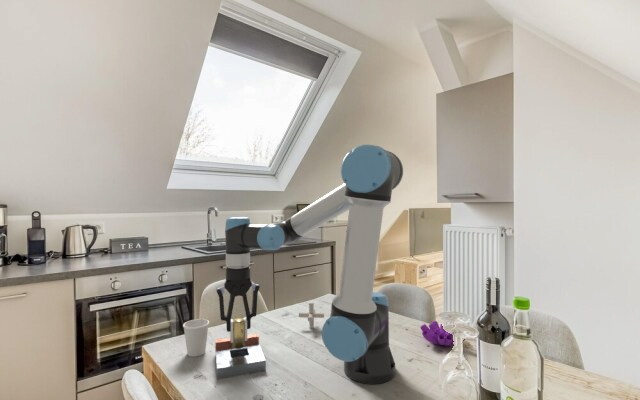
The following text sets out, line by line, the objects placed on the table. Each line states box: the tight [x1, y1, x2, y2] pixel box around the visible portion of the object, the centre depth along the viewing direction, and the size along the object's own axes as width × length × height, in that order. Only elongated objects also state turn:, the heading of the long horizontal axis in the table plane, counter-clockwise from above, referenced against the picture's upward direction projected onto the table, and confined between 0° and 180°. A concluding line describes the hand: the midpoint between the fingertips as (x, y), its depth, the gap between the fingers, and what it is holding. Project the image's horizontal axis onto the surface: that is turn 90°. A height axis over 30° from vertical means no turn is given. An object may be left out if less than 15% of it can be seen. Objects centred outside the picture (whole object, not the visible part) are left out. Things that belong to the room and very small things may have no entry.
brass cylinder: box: [232, 318, 245, 349], centre depth 105 cm, size 4×4×8 cm
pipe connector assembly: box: [419, 320, 466, 346], centre depth 117 cm, size 11×15×10 cm
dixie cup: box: [182, 318, 210, 357], centre depth 112 cm, size 8×8×10 cm
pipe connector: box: [298, 301, 325, 329], centre depth 133 cm, size 10×10×10 cm
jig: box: [214, 333, 267, 380], centre depth 105 cm, size 16×14×5 cm
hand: (238, 339), depth 105 cm, fingers closed on brass cylinder, 4 cm apart
